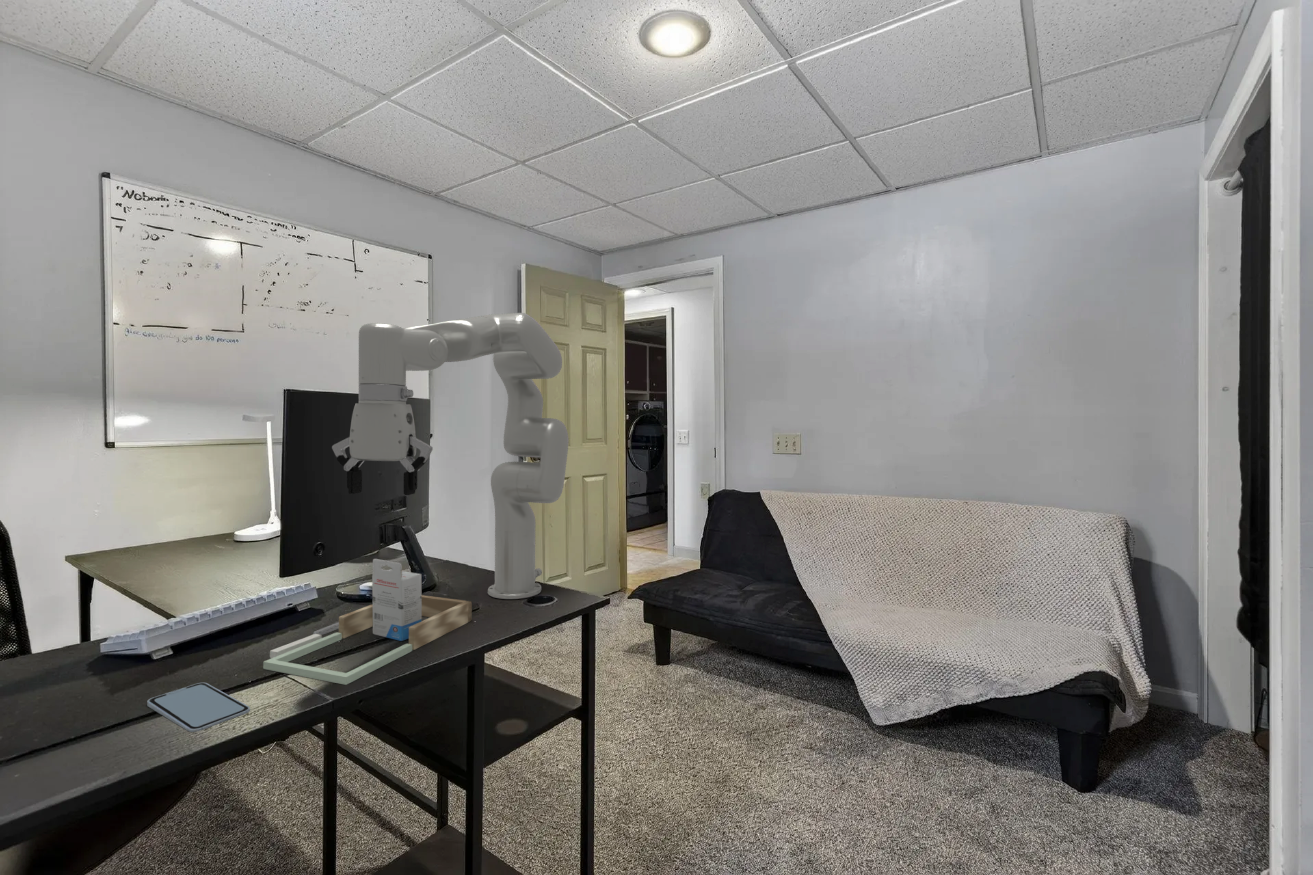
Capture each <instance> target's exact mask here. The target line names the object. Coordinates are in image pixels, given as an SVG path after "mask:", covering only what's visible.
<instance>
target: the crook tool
mask: <svg viewBox="0 0 1313 875" xmlns="http://www.w3.org/2000/svg"><path fill="white" fill-rule="evenodd" d="M336 630H337V631H338V630H339V621H337V622H334V623H333V624H330V625H328V626H325V627H321V628H319V629H318V630H315V631H313V635H314V634H319V635H322V636H325V635H326V634H330V633H332V632H333V631H336Z"/></svg>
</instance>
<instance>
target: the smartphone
mask: <svg viewBox="0 0 1313 875" xmlns="http://www.w3.org/2000/svg"><path fill="white" fill-rule="evenodd" d="M146 703H147V707H148V708H150V709H151V710H153V711H155V712H156V713H158V714H159V715H161V716H163V717H165V718H166V719H168V720H169V721H171V722H173V723H174V724H176V725H177V726H180V727H181V728H183V729H184V730H186V731H187V732H190V733H196V732H200V731H203V730H206V729H208V728H211V727H214V726H216V725H219V724H222V723H224V722H227V721H230V720H232V719H235V718H239V717H240V716H243V715H246V714H248V713H250V712H251V707H250V706H249V705H248V704H245V703H243V702H242V701H240V700H238V699H236V698H234V697H233V696H231V695H229V694H227V693H225V692H223V691H222V690H220V689H218V688H216V687H215V686H213V685H211V684H210V683H207V682H197V683H194V684H190V685H188V686H185V687H182V688H179V689H175V690H172V691H169V692H165V693H163V694H159V695H157V696H154V697H151V698H149V699H148V700H147V702H146Z"/></svg>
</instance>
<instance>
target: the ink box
mask: <svg viewBox="0 0 1313 875" xmlns="http://www.w3.org/2000/svg"><path fill="white" fill-rule="evenodd" d="M386 566H387V567H388V568H391V569H384V568H383V567H386ZM371 576H372V578H371V581H372V583H371V586H372V589H371V590H372V596H371V598H372V604H373V627H372V634H373V635H374V636H380V637H383V638H387V639H391V640H396V641H400V642H403V641H405V640H409V627H410V626H413V625H415V624H417V623H419V622H421V621H423V619H422V618H423V616H422V597H421V595H422V573H416V572H409V571H405V570H403V564H402V563H401V562H396V561H391V560H386V559H378V558H373V559H372V575H371Z"/></svg>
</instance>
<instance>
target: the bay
mask: <svg viewBox="0 0 1313 875" xmlns="http://www.w3.org/2000/svg"><path fill="white" fill-rule="evenodd" d="M342 639H343V638H342V633H339V631H338V632H336V631H335V632H334V633H332V634H331V633H330V634H329V635H326V636H324V637H322V638H321V639H319V640H316V641H314V642H311V643H309V644H306V645H304V646H301V647H299V648H296V649H294V650H291V651H289V652H286V653H284V654H281V655H279V656H276V657H274V658H269V659H267V660H264V661H262V662H263V663H262V666H263V668H262V669H263V670H267V671H273V672H277V673H284V674H289V675H293V676H298V677H304V678H310V679H314V680H318V681H324V682H330V683H334V684H335V683H336V684H340V685H345V686H347V685H349V684H350V683H352V682H355V681H356V680H358V679H360V678H363V677H364V676H366V675H368V674H371V673H372V672H374V671H376V670H377V669H378V670H379V669H380V668H381V667H383V666H386V665H388V664H389V663H391V662H394V661H395V660H397V659H400V658H401V657H403V656H405V655H407V654H409V653H412V652H413V650H412V644H409V643H405V644H402V645H401V646H399V647H397V648H394V649H392V650H391V651H388V652H387V653H384V654H382V655H381V656H379V657H376V658H374V659H372V660H369V661H368V662H366V663H364V664H362V665H360V666H358V667H356V668H354V669H352V670H350V671H348V672H342V671H338V670H331V669H325V668H321V667H315V666H312V665H311V666H310V665H305V664H298V663H293V662H291V661H293V660H296V659H298V658H301V657H302V656H305V655H308V654H310V653H312V652H315V651H317V650H320V649H322V648H325V647H327V646H329V645H331V644H335V643H337V642H339V641H341V640H342Z"/></svg>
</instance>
